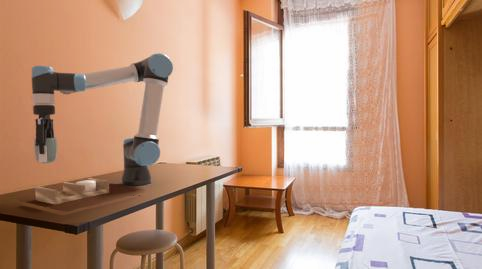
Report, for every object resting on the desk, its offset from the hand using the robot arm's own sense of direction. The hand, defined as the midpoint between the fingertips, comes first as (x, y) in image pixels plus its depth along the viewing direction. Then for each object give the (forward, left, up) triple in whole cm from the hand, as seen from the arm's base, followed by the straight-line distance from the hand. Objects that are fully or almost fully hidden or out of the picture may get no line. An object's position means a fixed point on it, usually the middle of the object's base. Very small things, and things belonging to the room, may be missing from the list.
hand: (46, 160), depth 130 cm
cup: (0, 0, -1) cm, 1 cm away
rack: (-6, +8, -16) cm, 19 cm away
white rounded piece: (-11, +8, -15) cm, 21 cm away
